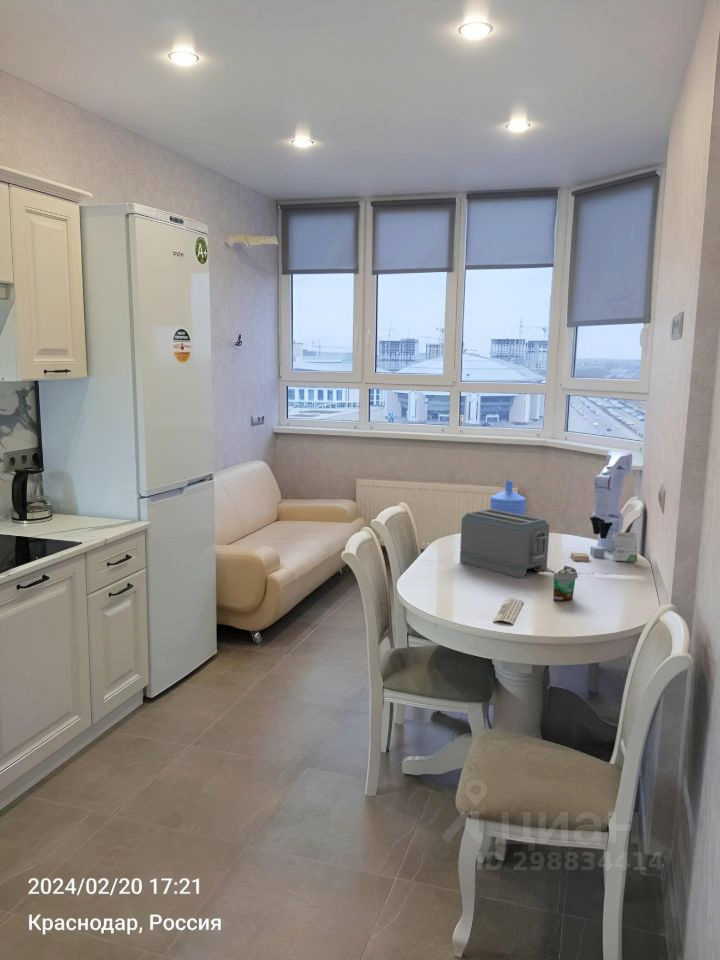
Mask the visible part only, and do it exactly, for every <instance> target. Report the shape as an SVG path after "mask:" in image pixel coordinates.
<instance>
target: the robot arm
mask: <svg viewBox="0 0 720 960" xmlns="http://www.w3.org/2000/svg"><path fill="white" fill-rule="evenodd" d="M606 454H607V455H606V465H605V466H604V467H603V468H602V470H601V472H600V473H599V474H597V475H595V477H594V482H593V483H594V493H595V497H594V499H595V500H594V509H593V511H592V513H591V514H590V515H591V516H589V519H590V522H591V525H592V530H593V531H592V532H593V535H597V546H601V547H603V548H604V549H605V551H607V552H608V551H611V552H613V534H614V533H615V532H622V530H623V528H624V514H623V513H622V512H621V511H620V510H619V507H620V502H621V496H622V492H623V485H624V481H625V477H626V475H627V474H630V473H631V470H632V465H633V454H632V452H623V451H622V452H621V451H612V450H609V451H608V452H607V453H606Z"/></svg>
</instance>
